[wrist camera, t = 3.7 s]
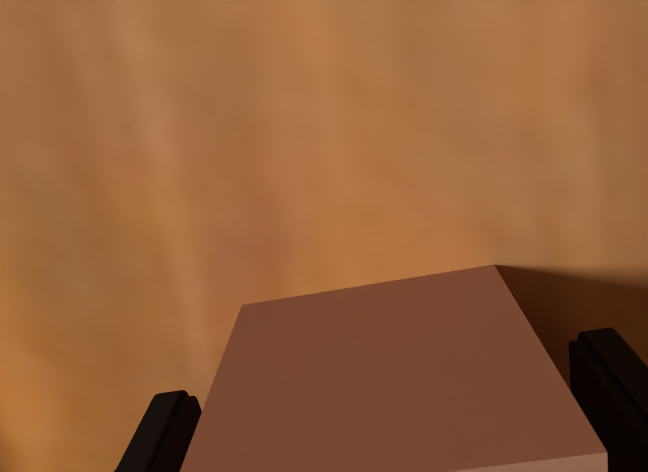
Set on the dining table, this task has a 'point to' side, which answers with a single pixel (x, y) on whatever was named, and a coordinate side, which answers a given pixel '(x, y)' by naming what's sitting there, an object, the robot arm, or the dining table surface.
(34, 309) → the dining table surface
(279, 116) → the dining table surface
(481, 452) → the terracotta cube
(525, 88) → the dining table surface
